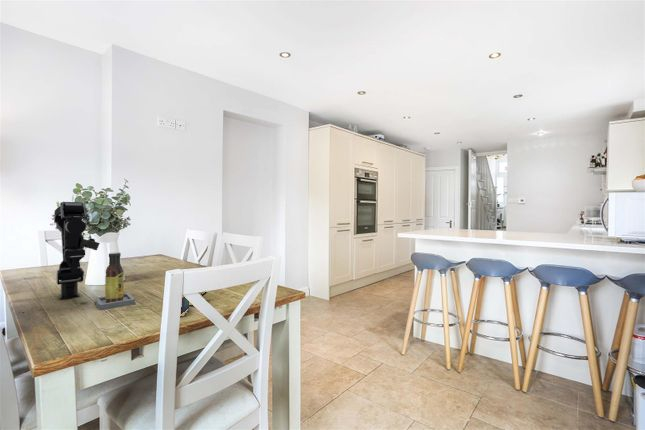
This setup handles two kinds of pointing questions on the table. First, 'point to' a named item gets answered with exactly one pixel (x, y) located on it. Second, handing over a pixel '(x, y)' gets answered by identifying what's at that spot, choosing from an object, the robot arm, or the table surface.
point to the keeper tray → (102, 303)
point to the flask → (184, 305)
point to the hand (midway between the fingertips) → (73, 272)
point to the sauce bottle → (114, 279)
